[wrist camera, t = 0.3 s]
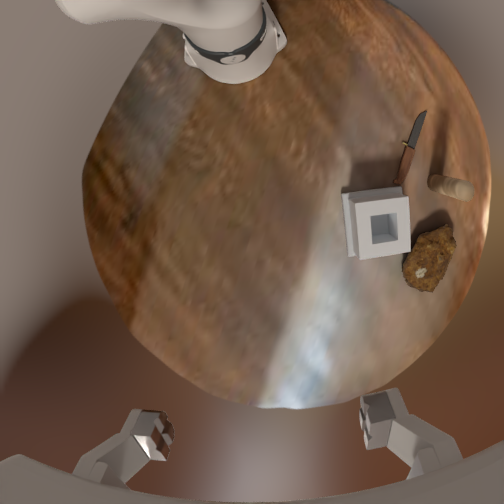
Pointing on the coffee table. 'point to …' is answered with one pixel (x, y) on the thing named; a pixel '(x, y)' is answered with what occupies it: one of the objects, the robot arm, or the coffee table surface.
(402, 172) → the knife
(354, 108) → the coffee table surface
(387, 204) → the socket
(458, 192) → the peg
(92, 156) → the coffee table surface
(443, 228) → the decorative rock
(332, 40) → the coffee table surface
